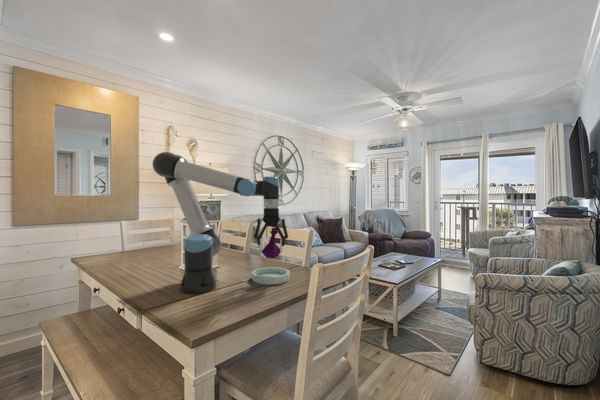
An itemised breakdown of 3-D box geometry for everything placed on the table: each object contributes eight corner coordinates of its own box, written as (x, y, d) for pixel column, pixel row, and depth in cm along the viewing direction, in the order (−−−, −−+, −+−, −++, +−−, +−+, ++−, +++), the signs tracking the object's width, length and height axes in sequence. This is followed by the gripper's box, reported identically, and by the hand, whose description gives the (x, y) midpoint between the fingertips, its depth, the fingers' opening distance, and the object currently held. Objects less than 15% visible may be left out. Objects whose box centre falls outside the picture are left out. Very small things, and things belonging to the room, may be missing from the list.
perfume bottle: (282, 256, 147) (282, 221, 146) (273, 259, 140) (273, 222, 140) (270, 255, 151) (270, 220, 150) (261, 257, 144) (261, 221, 144)
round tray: (248, 284, 137) (248, 276, 137) (256, 273, 155) (256, 266, 155) (286, 285, 135) (286, 277, 135) (291, 274, 154) (291, 267, 154)
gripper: (247, 207, 142) (247, 253, 142) (292, 208, 140) (292, 254, 140) (251, 207, 149) (251, 250, 150) (294, 207, 147) (293, 251, 148)
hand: (271, 252), depth 145 cm, fingers closed on perfume bottle, 9 cm apart
